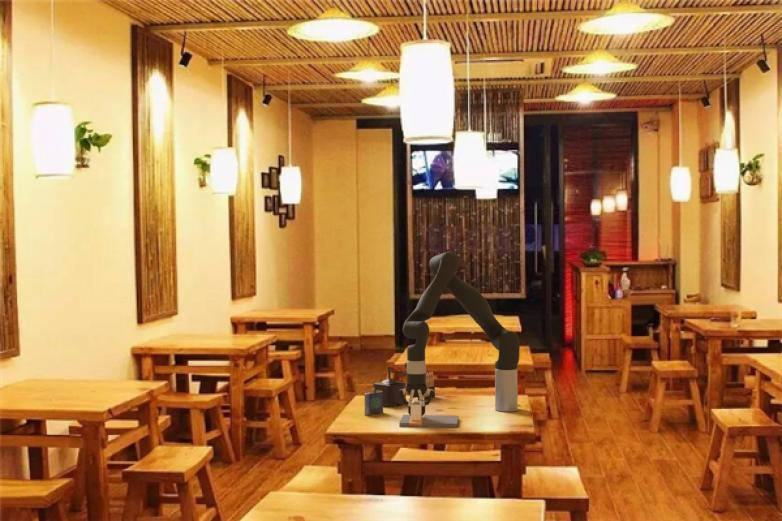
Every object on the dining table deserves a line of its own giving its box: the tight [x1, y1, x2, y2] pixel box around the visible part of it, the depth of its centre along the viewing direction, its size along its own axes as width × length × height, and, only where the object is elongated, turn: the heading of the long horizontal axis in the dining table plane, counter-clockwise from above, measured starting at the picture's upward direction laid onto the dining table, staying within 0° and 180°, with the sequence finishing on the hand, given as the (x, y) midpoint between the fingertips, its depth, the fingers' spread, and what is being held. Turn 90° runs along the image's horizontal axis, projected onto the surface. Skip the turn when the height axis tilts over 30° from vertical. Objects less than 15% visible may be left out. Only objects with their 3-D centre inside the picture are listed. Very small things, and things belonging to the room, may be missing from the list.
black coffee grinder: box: [372, 361, 407, 409], centre depth 404 cm, size 16×11×18 cm
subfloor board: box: [398, 414, 460, 429], centre depth 365 cm, size 22×15×2 cm
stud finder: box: [411, 400, 423, 421], centre depth 365 cm, size 4×8×6 cm, turn 173°
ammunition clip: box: [417, 370, 436, 401], centre depth 414 cm, size 11×2×12 cm, turn 142°
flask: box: [363, 387, 384, 417], centre depth 383 cm, size 9×3×11 cm, turn 129°
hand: (416, 415), depth 365 cm, fingers closed on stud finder, 4 cm apart
